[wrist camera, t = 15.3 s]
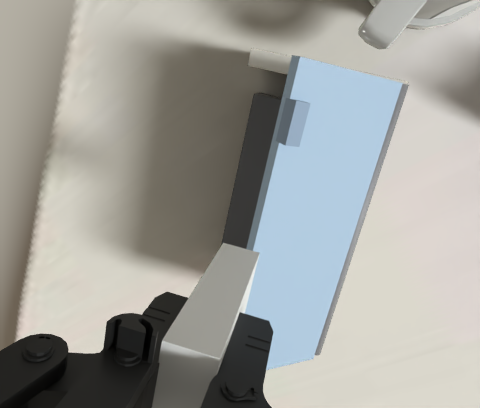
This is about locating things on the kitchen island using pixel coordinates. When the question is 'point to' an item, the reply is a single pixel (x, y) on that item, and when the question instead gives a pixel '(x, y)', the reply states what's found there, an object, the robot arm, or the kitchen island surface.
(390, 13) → the cup
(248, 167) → the dark grey block
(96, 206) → the kitchen island surface
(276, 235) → the cover
